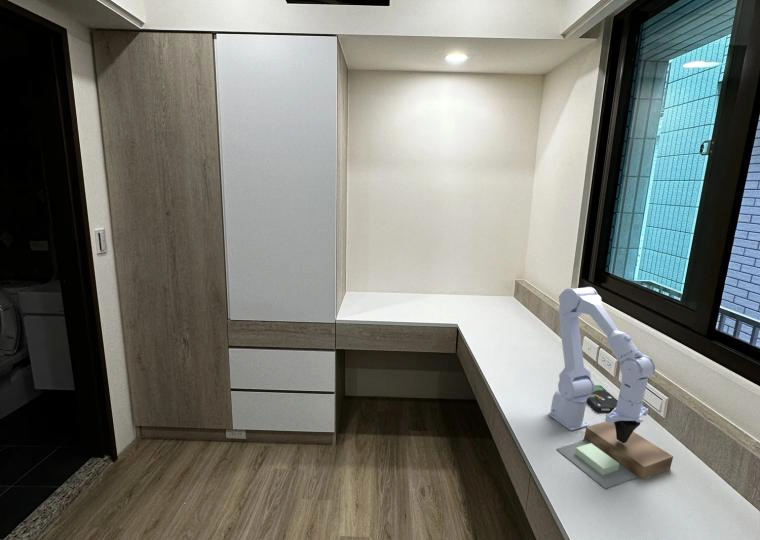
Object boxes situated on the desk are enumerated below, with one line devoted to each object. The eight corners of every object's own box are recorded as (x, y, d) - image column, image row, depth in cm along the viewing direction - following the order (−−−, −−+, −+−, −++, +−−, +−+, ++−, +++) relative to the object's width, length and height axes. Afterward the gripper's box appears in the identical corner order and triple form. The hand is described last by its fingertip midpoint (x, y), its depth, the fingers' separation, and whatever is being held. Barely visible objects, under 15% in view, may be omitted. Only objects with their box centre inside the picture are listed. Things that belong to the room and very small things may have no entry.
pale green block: (590, 443, 117) (589, 449, 118) (575, 447, 115) (574, 453, 115) (619, 463, 109) (618, 469, 110) (604, 468, 107) (602, 475, 107)
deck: (583, 438, 123) (586, 427, 122) (611, 430, 128) (613, 419, 127) (641, 479, 107) (644, 466, 106) (670, 468, 112) (673, 456, 111)
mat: (556, 449, 117) (556, 448, 117) (585, 440, 122) (586, 439, 122) (605, 489, 103) (605, 488, 103) (636, 477, 108) (637, 476, 108)
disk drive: (625, 414, 138) (599, 391, 152) (627, 407, 137) (600, 384, 152) (596, 414, 137) (572, 391, 152) (598, 407, 137) (574, 384, 151)
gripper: (626, 410, 105) (616, 455, 109) (662, 400, 111) (652, 444, 114) (602, 396, 112) (593, 439, 115) (638, 388, 117) (628, 429, 121)
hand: (621, 440), depth 115 cm, fingers closed
